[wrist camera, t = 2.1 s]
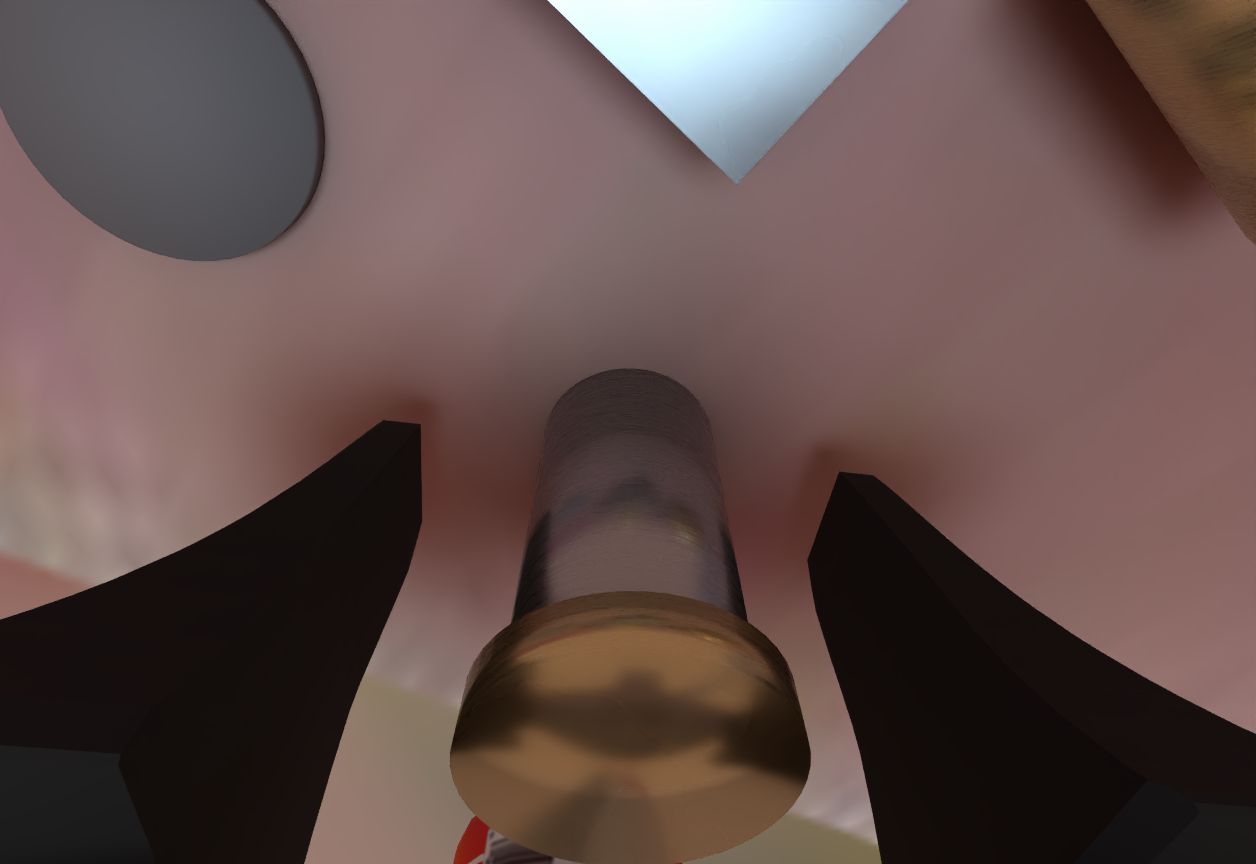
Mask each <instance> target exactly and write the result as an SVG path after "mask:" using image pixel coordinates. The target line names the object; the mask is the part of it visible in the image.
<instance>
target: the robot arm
mask: <svg viewBox="0 0 1256 864" xmlns="http://www.w3.org/2000/svg"><path fill="white" fill-rule="evenodd" d="M421 523H422V481H421V424H412V423H404V422H395V421H386V420H383V421H382V422H380V423H379V424H377V425H376V426H375V427H373V428H372V429H371V430H369V431H368V432H367V433H365V434H364V435H363V436H361V437H360V438H358V439H357V440H356V441H354V442H353V443H352V444H350V445H349V446H348V447H346V448H345V449H344V450H342V451H341V452H340V453H338V454H337V455H336V456H334V457H333V458H332V459H330V460H329V461H328V462H326V463H325V464H323V465H322V466H321V467H319V468H318V469H316V470H315V471H314V472H312V473H311V474H309V475H308V476H307V477H305V478H304V479H302V480H301V481H300V482H298V483H296V484H295V485H293V486H292V487H290V488H289V489H287V490H286V491H284V492H282V493H281V494H279V495H278V496H276V497H275V498H273V499H272V500H270V501H268V502H267V503H265V504H264V505H262V506H261V507H259V508H257V509H256V510H254V511H253V512H251V513H249V514H248V515H246V516H244V517H242V518H241V519H239V520H237V521H235V522H234V523H232V524H230V525H228V526H226V527H225V528H223V529H221V530H219V531H217V532H215V533H213V534H211V535H209V536H207V537H205V538H203V539H202V540H200V541H198V542H196V543H194V544H192V545H190V546H188V547H186V548H184V549H182V550H179V551H177V552H175V553H173V554H170V555H168V556H166V557H164V558H161V559H159V560H157V561H154V562H152V563H150V564H148V565H145V566H143V567H141V568H139V569H136V570H134V571H132V572H129V573H127V574H125V575H123V576H120V577H118V578H116V579H113V580H111V581H108V582H106V583H103V584H100V585H98V586H95V587H93V588H90V589H87V590H85V591H82V592H79V593H77V594H74V595H72V596H69V597H66V598H63V599H60V600H57V601H54V602H52V603H49V604H46V605H43V606H40V607H37V608H34V609H32V610H29V611H25V612H22V613H19V614H17V615H13V616H10V617H7V618H4V619H1V620H0V864H304V862H305V859H306V855H307V852H308V848H309V844H310V841H311V837H312V833H313V830H314V826H315V823H316V820H317V816H318V813H319V809H320V806H321V803H322V799H323V796H324V793H325V789H326V786H327V783H328V779H329V775H330V772H331V769H332V765H333V763H334V759H335V756H336V753H337V750H338V746H339V743H340V740H341V737H342V734H343V730H344V727H345V724H346V720H347V718H348V714H349V711H350V708H351V706H352V703H353V701H354V698H355V695H356V693H357V690H358V687H359V685H360V682H361V680H362V678H363V675H364V673H365V671H366V668H367V666H368V664H369V661H370V659H371V657H372V655H373V652H374V650H375V648H376V645H377V643H378V641H379V638H380V636H381V634H382V631H383V629H384V627H385V624H386V622H387V620H388V617H389V615H390V613H391V611H392V608H393V606H394V603H395V601H396V599H397V596H398V594H399V592H400V589H401V587H402V585H403V582H404V580H405V577H406V575H407V573H408V570H409V566H410V563H411V559H412V556H413V552H414V549H415V545H416V541H417V538H418V534H419V530H420V527H421ZM808 567H809V574H810V580H811V587H812V592H813V598H814V603H815V609H816V613H817V616H818V619H819V623H820V626H821V629H822V632H823V636H824V639H825V642H826V645H827V648H828V651H829V655H830V658H831V661H832V664H833V667H834V670H835V673H836V676H837V679H838V682H839V685H840V688H841V691H842V694H843V698H844V701H845V704H846V707H847V710H848V713H849V716H850V719H851V722H852V725H853V729H854V732H855V736H856V740H857V743H858V747H859V751H860V755H861V760H862V764H863V769H864V774H865V779H866V783H867V788H868V793H869V798H870V803H871V807H872V813H873V818H874V824H875V829H876V835H877V840H878V845H879V851H880V856H881V861H882V864H1256V734H1255V733H1253V732H1250V731H1248V730H1246V729H1244V728H1241V727H1239V726H1237V725H1235V724H1233V723H1231V722H1229V721H1227V720H1225V719H1223V718H1221V717H1219V716H1217V715H1215V714H1213V713H1211V712H1209V711H1207V710H1205V709H1203V708H1201V707H1199V706H1197V705H1195V704H1193V703H1192V702H1190V701H1188V700H1186V699H1184V698H1182V697H1180V696H1178V695H1176V694H1174V693H1172V692H1170V691H1169V690H1167V689H1165V688H1163V687H1161V686H1159V685H1158V684H1156V683H1154V682H1152V681H1150V680H1148V679H1147V678H1145V677H1143V676H1141V675H1139V674H1138V673H1136V672H1134V671H1133V670H1131V669H1129V668H1128V667H1126V666H1124V665H1123V664H1121V663H1119V662H1117V661H1116V660H1114V659H1112V658H1111V657H1109V656H1107V655H1106V654H1104V653H1102V652H1100V651H1099V650H1097V649H1096V648H1094V647H1092V646H1091V645H1089V644H1088V643H1086V642H1084V641H1083V640H1081V639H1080V638H1078V637H1077V636H1075V635H1073V634H1072V633H1070V632H1069V631H1068V630H1066V629H1065V628H1063V627H1062V626H1060V625H1059V624H1057V623H1056V622H1054V621H1053V620H1051V619H1050V618H1048V617H1047V616H1045V615H1044V614H1043V613H1041V612H1040V611H1038V610H1037V609H1035V608H1034V607H1032V606H1031V605H1030V604H1028V603H1027V602H1026V601H1024V600H1023V599H1021V598H1020V597H1019V596H1017V595H1016V594H1015V593H1013V592H1012V591H1011V590H1010V589H1008V588H1007V587H1006V586H1004V585H1003V584H1002V583H1001V582H999V581H998V580H997V579H995V578H994V577H993V576H992V575H990V574H989V573H988V572H987V571H985V570H984V569H983V568H982V567H980V566H979V565H978V564H977V563H975V562H974V561H973V560H972V559H971V558H969V557H968V556H967V555H966V554H965V553H963V552H962V551H961V550H960V549H959V548H957V547H956V546H955V545H954V544H953V543H952V542H951V541H949V540H948V539H947V538H946V537H945V536H944V535H942V534H941V533H940V532H939V531H938V530H937V529H936V528H934V527H933V526H932V525H931V524H930V523H929V522H928V521H926V520H925V519H924V518H923V517H922V516H921V515H920V514H919V513H917V512H916V511H915V510H914V509H913V508H912V507H911V506H910V505H908V504H907V503H906V502H905V501H904V500H903V499H902V498H900V497H899V496H898V495H897V494H896V493H895V492H893V491H892V490H891V489H890V488H889V487H887V486H886V485H885V484H884V483H882V482H881V481H880V480H878V479H877V478H876V477H874V476H873V475H864V474H855V473H846V472H839V474H838V477H837V479H836V482H835V485H834V488H833V491H832V493H831V496H830V499H829V502H828V504H827V507H826V510H825V513H824V515H823V518H822V521H821V524H820V527H819V529H818V532H817V535H816V538H815V540H814V543H813V546H812V549H811V551H810V554H809V557H808Z"/></svg>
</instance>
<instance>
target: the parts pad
mask: <svg viewBox="0 0 1256 864" xmlns="http://www.w3.org/2000/svg"><path fill="white" fill-rule="evenodd" d="M0 106H1V109H2V111H3V113H4V116H5V118H6V120H7V123H8V124H9V126H10V128H11V130H12V132H13V134H14V135H15V137H16V139H17V141H18V143H19V144H20V146H21V147H22V149H23V150H24V152H25V153H26V155H27V156H28V157H29V159H30V160H31V162H32V163H33V165H34V166H35V167H36V168H37V169H38V171H39V172H40V173H41V174H42V176H43V177H44V178H45V179H46V180H47V182H48V183H49V184H50V185H51V186H52V187H53V188H54V189H55V190H56V191H57V192H58V193H59V194H60V195H61V196H62V197H63V198H64V199H65V200H66V201H67V202H69V203H70V204H71V205H72V206H73V207H74V208H76V209H77V210H78V211H79V212H80V213H81V214H83V215H84V216H86V217H87V218H88V219H90V220H91V221H93V222H94V223H95V224H97V225H98V226H99V227H101V228H103V229H104V230H106V231H108V232H110V233H111V234H113V235H115V236H116V237H118V238H120V239H122V240H124V241H126V242H128V243H131V244H133V245H135V246H137V247H139V248H142V249H145V250H148V251H151V252H153V253H156V254H160V255H164V256H168V257H172V258H176V259H184V260H192V261H216V260H224V259H231V258H235V257H238V256H242V255H245V254H248V253H250V252H252V251H255V250H257V249H259V248H261V247H263V246H264V245H266V244H267V243H269V242H270V241H272V240H273V239H275V238H276V237H278V236H279V235H280V234H282V233H283V232H285V231H286V230H287V229H288V228H289V227H290V226H291V225H292V224H293V223H294V222H295V221H296V220H297V219H298V218H299V217H300V215H301V214H302V213H303V211H304V210H305V209H306V207H307V206H308V204H309V202H310V200H311V198H312V196H313V194H314V192H315V190H316V187H317V184H318V181H319V178H320V174H321V169H322V163H323V157H324V130H323V118H322V113H321V108H320V104H319V99H318V95H317V92H316V89H315V86H314V83H313V80H312V77H311V74H310V72H309V70H308V67H307V65H306V63H305V61H304V59H303V56H302V54H301V52H300V51H299V49H298V47H297V45H296V44H295V42H294V40H293V38H292V37H291V35H290V33H289V32H288V30H287V29H286V28H285V26H284V25H283V23H282V22H281V21H280V19H279V18H278V16H277V15H276V14H275V12H274V11H273V10H272V9H271V8H270V7H269V5H268V4H267V3H266V2H265V1H264V0H0Z"/></svg>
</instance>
